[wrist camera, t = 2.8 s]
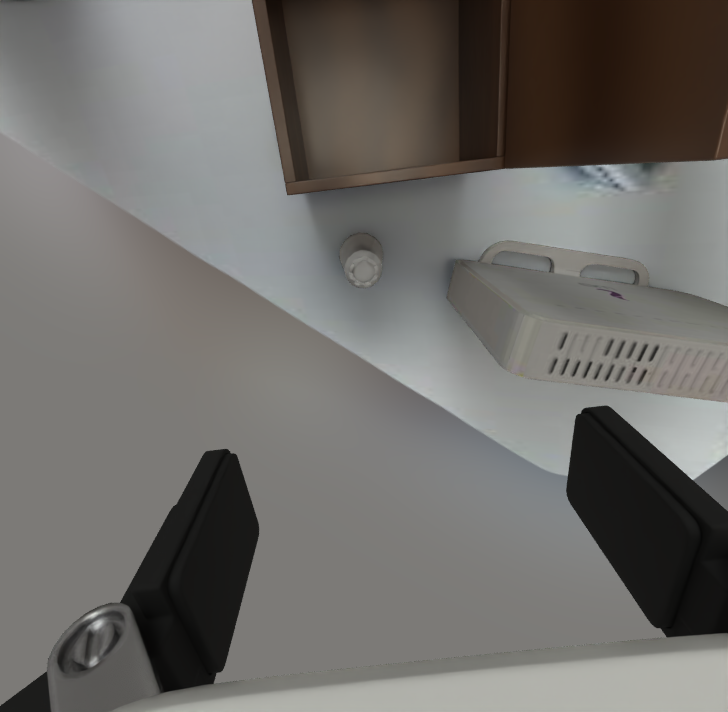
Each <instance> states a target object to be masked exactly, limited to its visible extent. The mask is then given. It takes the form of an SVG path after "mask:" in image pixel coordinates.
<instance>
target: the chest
mask: <svg viewBox="0 0 728 712" xmlns="http://www.w3.org/2000/svg"><path fill="white" fill-rule="evenodd" d="M252 3H253V9H254V15H255V20H256V26H257V31H258V37H259V42H260V48H261V53H262V59H263V64H264V70H265V75H266V81H267V86H268V92H269V97H270V103H271V108H272V114H273V119H274V125H275V130H276V136H277V141H278V147H279V153H280V158H281V164H282V169H283V175H284V180H285V183H286V184H285V185H286V191H287V195H295V194H303V193H311V192H319V191H327V190H335V189H343V188H352V187H360V186H368V185H376V184H384V183H392V182H400V181H408V180H416V179H425V178H433V177H441V176H449V175H457V174H465V173H473V172H481V171H490V170H498V169H505V153H506V126H507V99H508V73H509V46H510V20H511V0H252Z"/></svg>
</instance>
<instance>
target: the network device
mask: <svg viewBox="0 0 728 712" xmlns="http://www.w3.org/2000/svg"><path fill="white" fill-rule="evenodd" d="M502 251H511V252H518V253H524V254H531V255H538V256H544V257H548V258H549V259H550V261H551V264H552V267H551V270H550V272H544V271H537V270H531V269H524V268H517V267H510V266H503V265H496V264H492V261H493V258H494V257H495V256H496V255H497V254H498V253H499V252H502ZM591 264H597V265H604V266H611V267H617V268H624V269H631V270H633V271H634V272H635V275H636V278H635V282H634V284H626V283H619V282H612V281H606V280H599V279H592V278H585V277H580V273H581V271H582V270H583V269H584V268H585V267H586V266H588V265H591ZM648 284H649V273H648V271H647V268H646V267H645V266H644V265H643V264H642V263H640V262H638V261H635V260H631V259H626V258H620V257H613V256H607V255H600V254H594V253H587V252H581V251H574V250H568V249H561V248H554V247H548V246H541V245H535V244H528V243H522V242H515V241H502V242H498V243H496V244H494V245H492V246H491V247H489V248H488V249H487V250H486V251H485V252H484V253H483V254H482V256H481V258H480V259H479V262H476V261H469V260H456V261H455V265H454V269H453V273H452V277H451V281H450V285H449V290H448V294H447V299H448V301H449V302H450V303H451V304H452V306H453V307H454V308H455V309H456V311H457V312H458V313H459V314H460V316H461V317H462V318H463V320H464V321H465V322H466V323H467V325H468V326H469V327H470V328H471V330H472V331H473V332H474V333H475V335H476V336H477V337H478V338H479V340H480V341H481V342H482V343H483V345H484V346H485V347H486V349H487V350H488V351H489V352H490V354H491V355H492V356H493V357H494V359H495V360H496V361H497V362H498V364H499V365H500V366H501V367H502V368H504V369H505V370H507V371H509V372H511V373H513V374H515V375H518V376H521V377H524V378H528V379H534V380H543V381H551V382H559V383H568V384H576V385H585V386H593V387H601V388H610V389H618V390H627V391H635V392H644V393H652V394H660V395H669V396H677V397H686V398H694V399H703V400H711V401H719V402H728V307H727V306H724V305H721V304H718V303H716V302H713V301H710V300H707V299H704V298H701V297H698V296H695V295H692V294H688V293H684V292H679V291H674V290H667V289H660V288H653V287H648Z"/></svg>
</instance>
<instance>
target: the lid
mask: <svg viewBox="0 0 728 712" xmlns="http://www.w3.org/2000/svg"><path fill="white" fill-rule="evenodd" d="M721 159H728V0H511V20H510V46H509V73H508V99H507V126H506V153H505V169H513V168H537V167H562V166H586V165H611V164H635V163H660V162H684V161H709V160H721Z"/></svg>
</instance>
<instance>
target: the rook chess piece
mask: <svg viewBox="0 0 728 712" xmlns="http://www.w3.org/2000/svg"><path fill="white" fill-rule="evenodd" d="M339 258H340V261H341V264H342V267H343V269H344V270H345V275H346V278H347V280H348V281H349V282H350V283H351V284H352V285H354V286H356V287H358V288H368V287H371V286H373V285H374V284H375V283H377V282H378V280H379V279H380V277H381V275H382V265H381V264H382V260H383V251H382V247H381V244H380V243H379V242H378V241H377V239H376V238H375V237H373V236H371V235H369V234H368V233H356V234H353V235H350V236H349V237H348V238H347V239H346V240H345V241H344V242H343V244H342V246H341V248H340V256H339Z"/></svg>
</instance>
